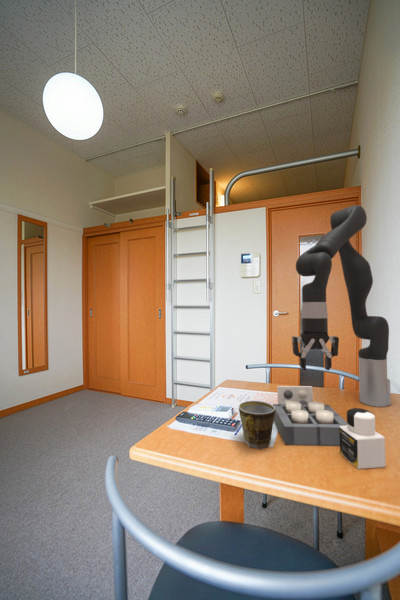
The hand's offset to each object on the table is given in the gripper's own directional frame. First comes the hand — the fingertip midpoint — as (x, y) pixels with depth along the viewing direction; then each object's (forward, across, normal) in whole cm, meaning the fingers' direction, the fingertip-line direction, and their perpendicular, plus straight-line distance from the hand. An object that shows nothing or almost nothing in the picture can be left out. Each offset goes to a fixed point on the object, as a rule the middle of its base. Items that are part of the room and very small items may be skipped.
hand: (315, 369), depth 87 cm
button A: (+14, 0, 0) cm, 14 cm away
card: (+18, +4, -12) cm, 22 cm away
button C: (+14, +7, 0) cm, 15 cm away
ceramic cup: (+18, +20, +12) cm, 30 cm away
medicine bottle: (+18, -4, +18) cm, 26 cm away
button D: (+14, +7, +7) cm, 17 cm away
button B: (+14, 0, +7) cm, 15 cm away
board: (+18, +4, +3) cm, 18 cm away
